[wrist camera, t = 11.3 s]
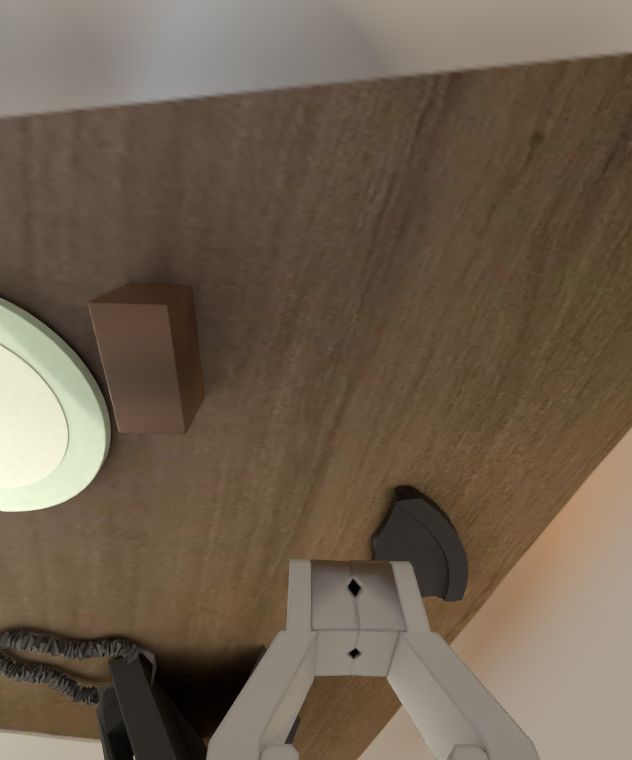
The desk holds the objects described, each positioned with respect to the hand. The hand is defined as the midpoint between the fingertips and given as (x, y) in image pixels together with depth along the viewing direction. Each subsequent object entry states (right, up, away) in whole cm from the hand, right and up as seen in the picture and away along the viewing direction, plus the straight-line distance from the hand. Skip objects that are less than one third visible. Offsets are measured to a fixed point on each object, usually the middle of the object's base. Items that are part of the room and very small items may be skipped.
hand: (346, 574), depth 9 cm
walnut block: (-11, +7, +15) cm, 20 cm away
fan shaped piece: (+9, -10, +25) cm, 28 cm away
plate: (-24, +3, +17) cm, 30 cm away
